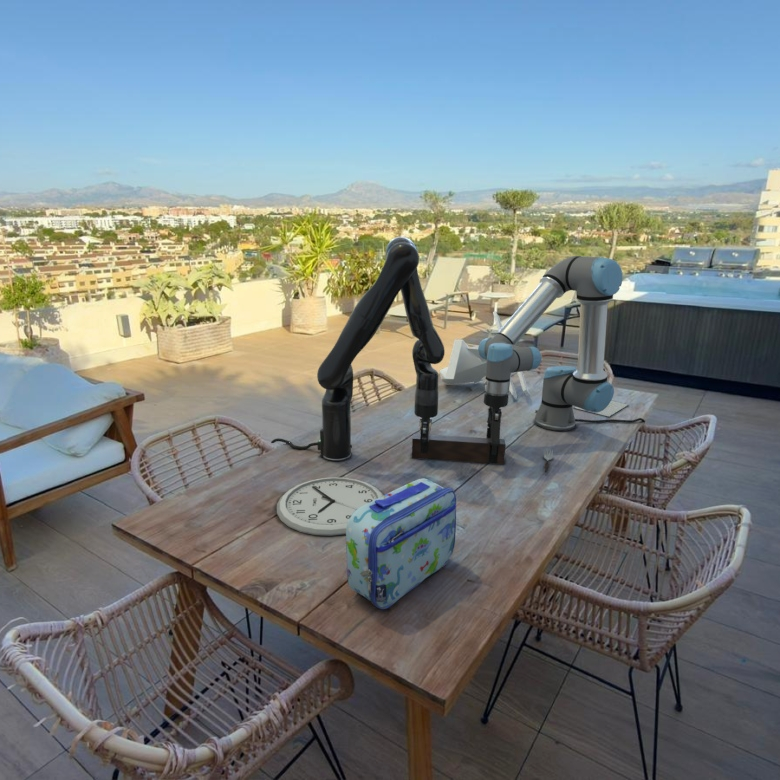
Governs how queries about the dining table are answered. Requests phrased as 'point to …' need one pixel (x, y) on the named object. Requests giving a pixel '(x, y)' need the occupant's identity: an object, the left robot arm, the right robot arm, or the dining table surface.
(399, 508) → the lunch box
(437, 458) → the walnut beam
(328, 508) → the wall clock
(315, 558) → the dining table surface
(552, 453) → the fork
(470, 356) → the white plastic object
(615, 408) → the invitation card
